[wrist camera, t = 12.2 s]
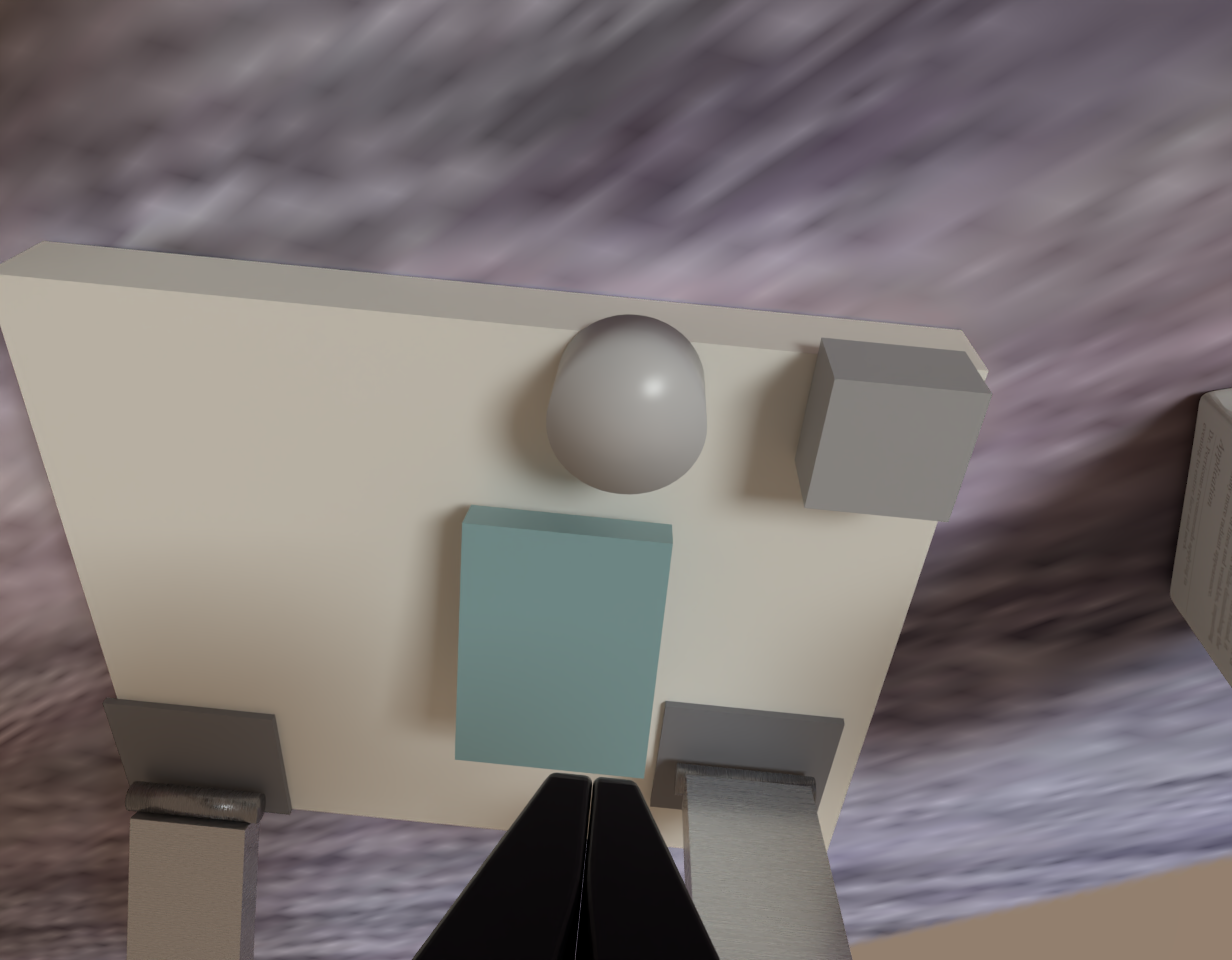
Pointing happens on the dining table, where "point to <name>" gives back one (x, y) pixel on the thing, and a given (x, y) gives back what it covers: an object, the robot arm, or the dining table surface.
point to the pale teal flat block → (559, 639)
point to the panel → (423, 525)
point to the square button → (889, 429)
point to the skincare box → (1208, 533)
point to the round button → (628, 405)
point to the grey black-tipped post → (759, 865)
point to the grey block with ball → (192, 872)
